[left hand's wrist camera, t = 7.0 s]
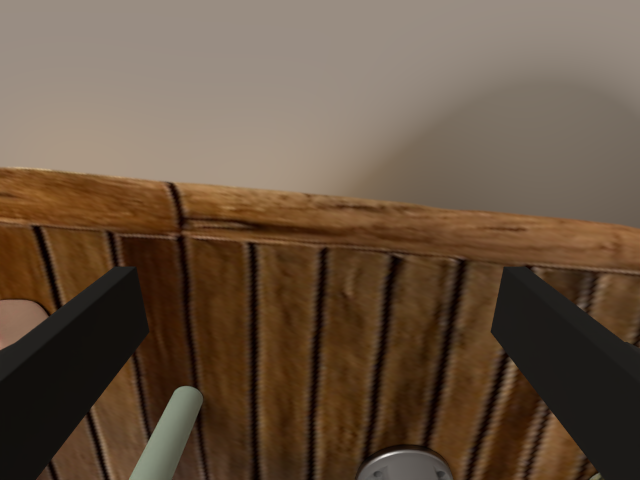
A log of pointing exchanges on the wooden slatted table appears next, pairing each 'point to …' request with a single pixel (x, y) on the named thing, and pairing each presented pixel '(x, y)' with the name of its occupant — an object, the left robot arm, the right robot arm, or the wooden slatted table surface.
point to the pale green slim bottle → (169, 436)
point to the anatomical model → (18, 319)
